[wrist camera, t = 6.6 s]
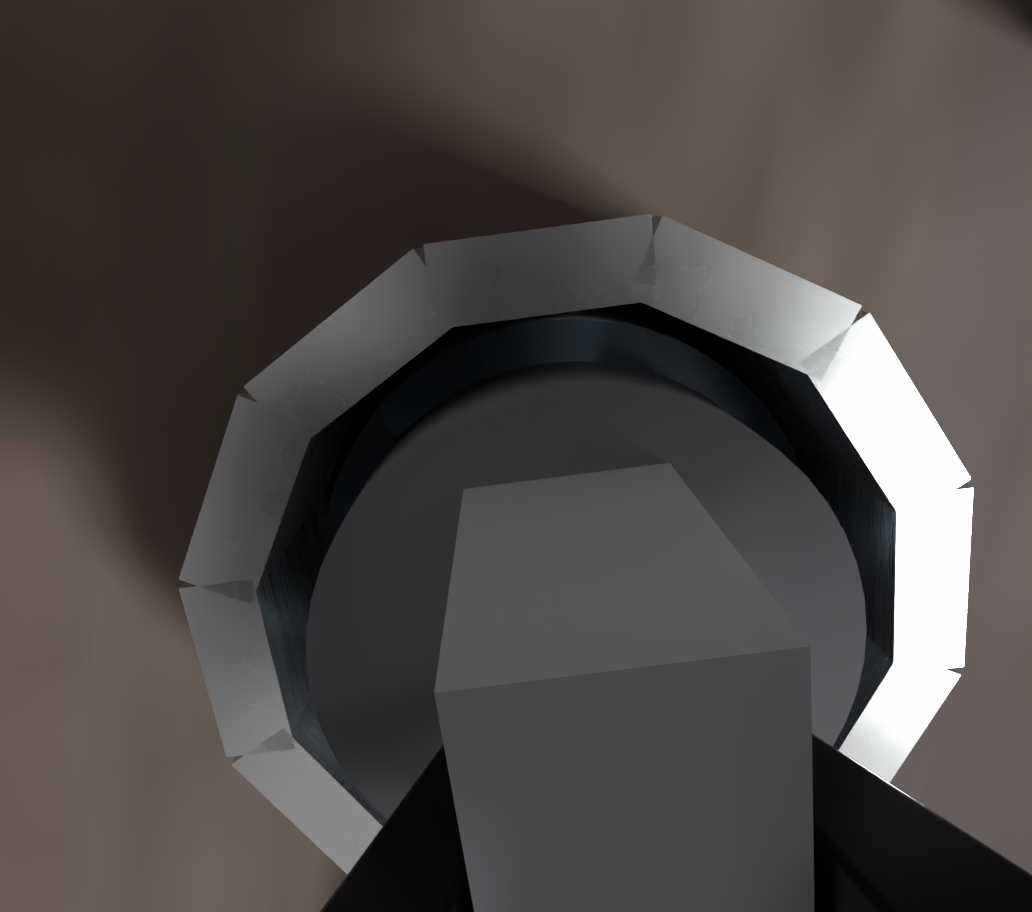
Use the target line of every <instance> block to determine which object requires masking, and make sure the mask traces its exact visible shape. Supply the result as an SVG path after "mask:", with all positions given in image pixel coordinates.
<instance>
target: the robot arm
mask: <svg viewBox="0 0 1032 912" xmlns="http://www.w3.org/2000/svg"><path fill="white" fill-rule="evenodd" d="M812 772H813V839H814V907H815V912H1032V875H1031V874H1030V873H1028V872H1027V871H1025V870H1023V869H1022V868H1020V867H1019V866H1017V865H1016V864H1014V863H1013V862H1011V861H1009V860H1008V859H1006V858H1005V857H1003V856H1002V855H1000V854H999V853H997V852H995V851H994V850H992V849H991V848H989V847H988V846H986V845H985V844H983V843H981V842H980V841H978V840H977V839H975V838H974V837H972V836H971V835H969V834H967V833H966V832H964V831H963V830H961V829H960V828H958V827H957V826H955V825H953V824H952V823H950V822H949V821H947V820H946V819H944V818H943V817H941V816H939V815H938V814H936V813H935V812H933V811H932V810H930V809H929V808H927V807H925V806H924V805H922V804H921V803H919V802H918V801H916V800H915V799H913V798H911V797H910V796H908V795H907V794H905V793H904V792H902V791H901V790H899V789H897V788H896V787H894V786H893V785H891V784H890V783H888V782H887V781H885V780H883V779H882V778H880V777H879V776H877V775H876V774H874V773H873V772H871V771H869V770H868V769H866V768H865V767H863V766H862V765H860V764H859V763H857V762H855V761H854V760H852V759H851V758H849V757H848V756H846V755H845V754H843V753H841V752H840V751H838V750H837V749H835V748H834V747H832V746H831V745H829V744H827V743H826V742H824V741H823V740H821V739H820V738H818V737H817V736H815V735H813V734H812ZM320 912H474V908H473V903H472V897H471V892H470V886H469V881H468V876H467V870H466V865H465V859H464V854H463V848H462V843H461V837H460V832H459V826H458V821H457V815H456V810H455V805H454V799H453V794H452V788H451V783H450V777H449V772H448V766H447V761H446V755H445V750H444V744H443V745H442V746H441V748H440V749H439V750H438V752H437V753H436V755H435V756H434V757H433V759H432V760H431V761H430V763H429V764H428V765H427V767H426V768H425V770H424V771H423V772H422V774H421V775H420V776H419V778H418V779H417V780H416V782H415V783H414V785H413V786H412V787H411V789H410V790H409V791H408V793H407V794H406V795H405V797H404V798H403V799H402V801H401V802H400V804H399V805H398V806H397V808H396V809H395V810H394V812H393V813H392V814H391V816H390V817H389V819H388V820H387V821H386V823H385V824H384V825H383V827H382V828H381V829H380V831H379V832H378V834H377V835H376V836H375V838H374V839H373V840H372V842H371V843H370V844H369V846H368V847H367V849H366V850H365V851H364V853H363V854H362V855H361V857H360V858H359V859H358V861H357V862H356V863H355V865H354V866H353V868H352V869H351V870H350V872H349V873H348V874H347V876H346V877H345V878H344V880H343V881H342V883H341V884H340V885H339V887H338V888H337V889H336V891H335V892H334V893H333V895H332V896H331V898H330V899H329V900H328V902H327V903H326V904H325V906H324V907H323V908H322V910H321V911H320Z"/></svg>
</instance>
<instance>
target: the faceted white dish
mask: <svg viewBox="0 0 1032 912" xmlns="http://www.w3.org/2000/svg"><path fill="white" fill-rule="evenodd" d="M423 247H424V248H415V249H412V250H410V251H409V252H408V253H407V254H405V255H404V256H403V257H402V258H401V259H399V260H398V261H397V262H396V263H394V264H393V265H392V266H391V267H390V268H388V269H387V270H386V271H385V272H383V273H382V274H381V275H380V276H378V277H377V278H376V279H375V280H374V281H372V282H371V283H370V284H369V285H367V286H366V287H365V288H364V289H362V290H361V291H360V292H359V293H358V294H356V295H355V296H354V297H353V298H351V299H350V300H349V301H348V302H347V303H345V304H344V305H343V306H342V307H340V308H339V309H338V310H337V311H335V312H334V313H333V314H332V315H331V316H329V317H328V318H327V319H326V320H324V321H323V322H322V323H321V324H319V325H318V326H317V327H316V328H315V329H313V330H312V331H311V332H310V333H308V334H307V335H306V336H305V337H304V338H302V339H301V340H300V341H299V342H297V343H296V344H295V345H294V346H292V347H291V348H290V349H289V350H288V351H286V352H285V353H284V354H283V355H281V356H280V357H279V358H278V359H276V360H275V361H274V362H273V363H272V364H270V365H269V366H268V367H267V368H265V369H264V370H263V371H262V372H261V373H259V374H258V375H257V376H256V377H254V378H253V379H252V380H251V381H249V382H248V383H247V384H246V385H245V386H243V387H244V388H245V389H246V390H245V391H244V392H242V393H240V394H238V395H237V398H236V401H235V404H234V407H233V411H232V414H231V417H230V420H229V423H228V426H227V429H226V432H225V436H224V439H223V442H222V445H221V448H220V451H219V454H218V457H217V461H216V464H215V467H214V470H213V473H212V476H211V479H210V483H209V486H208V489H207V492H206V495H205V498H204V501H203V504H202V508H201V511H200V514H199V517H198V520H197V523H196V526H195V529H194V533H193V536H192V539H191V542H190V545H189V548H188V551H187V554H186V558H185V561H184V564H183V567H182V570H181V573H180V576H179V580H182V581H185V582H184V583H183V584H182V585H181V586H180V587H179V592H180V596H181V599H182V603H183V606H184V610H185V613H186V617H187V620H188V624H189V627H190V631H191V634H192V638H193V641H194V645H195V648H196V652H197V655H198V659H199V662H200V666H201V669H202V673H203V676H204V680H205V683H206V687H207V690H208V694H209V697H210V701H211V704H212V708H213V711H214V715H215V718H216V722H217V725H218V729H219V732H220V736H221V739H222V743H223V746H224V750H225V753H226V757H233V756H235V758H234V760H233V762H232V764H231V765H232V766H233V767H234V768H235V769H236V770H237V771H238V772H240V773H241V774H242V775H243V776H244V777H245V778H246V779H247V780H248V781H249V782H250V783H251V784H252V785H253V786H254V787H255V788H256V789H258V790H259V791H260V792H261V793H262V794H263V795H264V796H265V797H266V798H267V799H268V800H269V801H270V802H271V803H272V804H273V805H274V806H275V807H277V808H278V809H279V810H280V811H281V812H282V813H283V814H284V815H285V816H286V817H287V818H288V819H289V820H290V821H291V822H292V823H293V824H294V825H296V826H297V827H298V828H299V829H300V830H301V831H302V832H303V833H304V834H305V835H306V836H307V837H308V838H309V839H310V840H311V841H312V842H314V843H315V844H316V845H317V846H318V847H319V848H320V849H321V850H322V851H323V852H324V853H325V854H326V855H327V856H328V857H329V858H330V859H331V860H333V861H334V862H335V863H336V864H337V865H338V866H339V867H340V868H341V869H342V870H343V871H344V872H345V873H346V874H348V873H349V872H350V870H351V869H352V868H353V866H354V865H355V863H356V862H357V861H358V859H359V858H360V857H361V855H362V854H363V853H364V851H365V850H366V849H367V847H368V846H369V844H370V843H371V842H372V840H373V839H374V838H375V836H376V835H377V834H378V832H379V831H380V829H381V828H382V827H383V825H384V824H385V823H386V821H387V819H386V818H385V817H384V816H383V815H382V814H380V813H379V812H378V811H377V810H376V809H375V808H374V807H373V806H372V805H371V804H370V803H369V802H368V801H367V799H366V798H365V797H364V796H363V795H362V794H361V793H360V792H359V790H358V789H357V788H356V787H355V786H354V785H353V784H352V782H351V781H350V779H349V778H348V776H347V775H346V773H345V772H344V770H343V769H342V767H341V766H340V764H339V763H338V761H337V760H336V758H335V756H334V754H333V752H332V750H331V748H330V746H329V744H328V742H327V740H326V738H325V736H324V734H323V732H322V729H321V727H320V724H319V720H318V717H317V714H316V711H315V708H314V705H313V701H312V698H311V692H310V686H309V679H308V673H307V667H306V630H307V623H308V616H309V609H310V602H311V598H312V594H313V591H314V588H315V584H316V581H317V577H318V574H319V571H320V567H321V565H322V563H323V561H324V559H325V556H326V554H327V552H328V550H329V548H330V546H331V544H332V541H333V539H334V537H335V535H336V533H337V531H338V530H339V528H340V526H341V524H342V522H343V521H344V519H345V517H346V515H347V513H348V512H349V510H350V508H351V506H352V504H353V503H354V501H355V499H356V497H357V495H358V494H359V492H360V490H361V488H362V487H363V485H364V483H365V481H366V480H367V478H368V477H369V475H370V474H371V472H372V470H373V469H374V467H375V466H376V464H377V463H378V461H379V460H380V458H381V457H382V455H383V454H384V453H385V452H386V451H387V450H388V448H389V447H390V446H391V445H392V444H393V443H394V442H395V440H396V439H397V438H398V437H399V436H400V435H401V433H403V432H404V431H405V430H406V429H407V428H408V427H409V426H410V425H412V424H413V423H414V422H415V421H416V420H417V419H418V418H420V417H421V416H422V415H423V414H424V413H425V412H427V411H428V410H430V409H431V408H433V407H434V406H436V405H437V404H439V403H440V402H442V401H443V400H445V399H446V398H448V397H449V396H451V395H452V394H454V393H456V392H458V391H460V390H462V389H464V388H466V387H468V386H471V385H473V384H475V383H477V382H479V381H481V380H483V379H486V378H489V377H492V376H495V375H498V374H501V373H504V372H507V371H510V370H513V369H518V368H523V367H528V366H533V365H538V364H543V363H554V362H569V361H588V362H603V363H614V364H619V365H624V366H629V367H634V368H639V369H644V370H647V371H650V372H653V373H655V374H658V375H661V376H664V377H667V378H670V379H673V380H675V381H677V382H679V383H681V384H683V385H685V386H687V387H689V388H691V389H693V390H695V391H697V392H699V393H701V394H703V395H704V396H706V397H707V398H708V399H710V400H711V401H713V402H714V403H716V404H717V405H718V406H720V407H721V408H723V409H724V410H726V411H727V412H728V413H730V414H731V415H733V416H734V417H735V418H737V419H738V420H739V421H741V422H742V423H743V424H745V425H746V426H747V427H749V428H750V429H751V430H753V431H754V432H755V433H757V434H758V435H759V436H761V437H762V438H763V439H765V440H766V441H767V442H769V443H770V444H771V445H773V446H774V447H775V448H777V449H778V450H779V451H780V452H782V453H783V454H784V455H785V456H786V457H787V458H788V459H789V460H790V461H791V462H792V463H793V464H794V465H795V466H797V467H798V468H799V469H800V470H801V471H802V472H803V473H804V474H805V475H806V476H807V477H808V478H809V480H810V481H811V482H812V484H813V485H814V486H815V487H816V489H817V490H818V491H819V492H820V494H821V495H822V496H823V497H824V499H825V500H826V501H827V502H828V504H829V506H830V507H831V509H832V511H833V513H834V514H835V516H836V518H837V520H838V521H839V523H840V525H841V527H842V528H843V530H844V532H845V534H846V536H847V539H848V541H849V544H850V547H851V549H852V552H853V554H854V557H855V560H856V562H857V565H858V569H859V574H860V579H861V583H862V588H863V592H864V597H865V612H866V627H867V632H866V644H865V656H864V664H863V668H862V673H861V677H860V682H859V686H858V690H857V694H856V697H855V699H854V702H853V705H852V707H851V710H850V712H849V715H848V718H847V720H846V723H845V725H844V727H843V729H842V731H841V732H840V734H839V736H838V738H837V740H836V742H835V743H834V745H833V747H834V748H835V749H837V750H838V751H840V752H841V753H843V754H845V755H846V756H848V757H849V758H851V759H852V760H854V761H855V762H857V763H859V764H860V765H862V766H863V767H865V768H866V769H868V770H869V771H871V772H873V773H874V774H876V775H877V776H879V777H880V778H882V779H883V780H885V781H887V782H888V783H890V781H891V780H892V778H893V777H894V775H895V774H896V772H897V771H898V769H899V768H900V766H901V765H902V763H903V762H904V760H905V759H906V757H907V756H908V754H909V753H910V751H911V750H912V748H913V747H914V745H915V744H916V742H917V741H918V739H919V738H920V736H921V735H922V733H923V732H924V730H925V729H926V727H927V726H928V724H929V722H930V721H931V719H932V718H933V716H934V715H935V713H936V712H937V710H938V709H939V707H940V706H941V704H942V703H943V701H944V700H945V698H946V697H947V695H948V694H949V692H950V691H951V689H952V688H953V686H954V685H955V683H956V682H957V680H958V679H959V677H960V676H961V675H960V674H959V673H958V672H957V671H956V670H955V669H954V668H958V667H964V655H965V636H966V617H967V598H968V579H969V560H970V541H971V522H972V503H973V487H971V486H969V485H967V484H965V482H967V481H969V480H970V479H971V478H970V476H969V475H968V473H967V471H966V470H965V468H964V466H963V465H962V463H961V461H960V460H959V458H958V457H957V455H956V453H955V452H954V450H953V448H952V447H951V445H950V443H949V442H948V440H947V439H946V437H945V435H944V434H943V432H942V430H941V429H940V427H939V425H938V424H937V422H936V420H935V419H934V417H933V416H932V414H931V412H930V411H929V409H928V407H927V406H926V404H925V402H924V401H923V399H922V398H921V396H920V394H919V393H918V391H917V389H916V388H915V386H914V384H913V383H912V381H911V379H910V378H909V376H908V375H907V373H906V371H905V370H904V368H903V366H902V365H901V363H900V361H899V360H898V358H897V357H896V355H895V353H894V352H893V350H892V348H891V347H890V345H889V343H888V342H887V340H886V338H885V337H884V335H883V334H882V332H881V330H880V329H879V327H878V325H877V324H876V322H875V320H874V319H873V317H872V316H871V314H870V312H865V311H860V308H861V306H862V305H859V304H857V303H855V302H853V301H851V300H848V299H846V298H844V297H842V296H840V295H837V294H835V293H833V292H831V291H829V290H826V289H824V288H822V287H820V286H818V285H815V284H813V283H811V282H809V281H807V280H804V279H802V278H800V277H798V276H796V275H793V274H791V273H789V272H787V271H785V270H782V269H780V268H778V267H776V266H774V265H771V264H769V263H767V262H765V261H762V260H760V259H758V258H756V257H754V256H751V255H749V254H747V253H745V252H743V251H740V250H738V249H736V248H734V247H732V246H729V245H727V244H725V243H723V242H721V241H718V240H716V239H714V238H712V237H710V236H707V235H705V234H703V233H701V232H699V231H696V230H694V229H692V228H690V227H688V226H685V225H683V224H681V223H679V222H677V221H674V220H672V219H670V218H668V217H666V216H663V215H662V216H655V217H652V214H646V215H638V216H631V217H623V218H616V219H608V220H601V221H593V222H586V223H578V224H571V225H563V226H556V227H548V228H541V229H533V230H526V231H518V232H511V233H503V234H496V235H488V236H481V237H473V238H466V239H458V240H451V241H443V242H436V243H428V244H423ZM640 302H642V303H644V304H647V305H649V306H651V307H653V308H656V309H658V310H660V311H663V312H665V313H667V314H670V315H672V316H674V317H676V318H679V319H681V320H683V321H686V322H688V323H690V324H693V325H695V326H697V327H699V328H702V329H704V330H706V331H709V332H711V333H713V334H716V335H717V336H718V337H719V339H720V340H721V342H722V343H723V345H724V346H725V348H726V349H727V351H728V352H729V354H730V355H731V357H732V358H733V360H734V361H735V362H736V364H737V365H738V367H739V368H740V370H741V371H742V373H743V374H744V376H745V377H746V379H747V380H748V382H749V383H750V385H751V386H752V388H753V389H754V391H755V392H756V393H757V395H758V396H759V398H760V399H761V401H762V402H763V403H762V402H761V401H760V399H759V398H758V397H757V396H756V395H755V394H754V393H753V392H752V391H751V390H750V389H749V388H748V387H747V386H745V385H744V384H743V383H742V382H741V381H740V380H739V379H738V378H737V377H736V376H735V375H734V374H732V373H731V372H730V371H728V370H727V369H725V368H724V367H722V366H721V365H720V364H718V363H717V362H715V361H714V360H713V359H711V358H710V357H708V356H707V355H705V354H703V353H701V352H700V351H698V350H696V349H694V348H692V347H691V346H689V345H687V344H685V343H684V342H682V341H680V340H678V339H676V338H674V337H672V336H670V335H669V334H667V333H665V332H663V331H661V330H659V329H657V328H655V327H653V326H651V325H648V324H645V323H643V322H640V321H637V320H634V319H631V318H628V317H626V316H622V315H617V314H612V313H608V312H603V311H598V310H590V309H594V308H602V307H610V306H617V305H625V304H632V303H640ZM480 323H482V324H480ZM473 324H479V325H477V326H475V327H473V328H471V329H469V330H467V331H465V332H463V333H461V334H459V335H457V336H455V337H453V338H451V339H449V340H448V341H446V342H445V343H443V344H442V345H440V346H439V347H437V348H436V349H434V350H433V351H431V352H430V353H428V354H427V355H426V356H425V357H423V358H422V359H421V360H420V361H419V362H418V363H417V364H416V365H415V366H413V367H412V368H411V369H410V370H409V371H408V372H407V373H406V374H405V375H404V376H403V377H402V378H401V379H400V380H399V382H398V383H397V384H396V385H395V386H394V388H393V389H392V390H391V391H390V392H389V393H388V395H387V396H386V397H385V399H384V400H383V401H382V403H381V404H380V405H379V407H378V408H377V409H376V411H375V412H374V414H373V415H372V416H371V418H370V419H369V420H368V422H367V423H366V425H365V426H364V428H363V430H362V431H361V433H360V434H359V436H358V437H357V439H356V441H355V442H354V444H353V445H352V447H351V449H350V450H349V452H348V455H347V457H346V459H345V461H344V464H343V466H342V468H341V470H340V472H339V475H338V477H337V479H336V483H335V486H334V490H333V493H332V496H331V500H330V503H329V507H328V509H327V504H326V500H325V495H324V493H325V490H326V487H327V485H328V482H329V479H330V476H331V474H332V471H333V468H334V466H335V463H336V460H337V457H338V455H339V452H340V449H341V446H342V444H343V441H344V438H345V435H346V433H347V430H348V427H349V425H350V422H351V419H352V416H353V414H354V411H355V408H356V405H357V403H358V401H359V400H360V399H362V398H363V397H364V396H365V395H367V394H368V393H369V392H371V391H372V390H373V389H374V388H376V387H377V386H378V385H379V384H381V383H382V382H383V381H385V380H386V379H387V378H388V377H390V376H391V375H392V374H393V373H395V372H396V371H397V370H399V369H400V368H401V367H402V366H404V365H405V364H406V363H408V362H409V361H410V360H411V359H413V358H414V357H415V356H416V355H418V354H419V353H420V352H422V351H423V350H424V349H425V348H427V347H428V346H429V345H430V344H432V343H433V342H434V341H436V340H437V339H438V338H439V337H441V336H442V335H443V334H445V333H446V332H447V331H448V330H450V329H451V328H452V327H458V326H465V325H473ZM764 405H765V406H764Z"/></svg>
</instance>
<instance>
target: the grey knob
mask: <svg viewBox="0 0 1032 912" xmlns="http://www.w3.org/2000/svg"><path fill="white" fill-rule="evenodd" d="M866 632H867V627H866V612H865V597H864V592H863V588H862V583H861V579H860V574H859V569H858V565H857V562H856V560H855V557H854V554H853V552H852V549H851V547H850V544H849V541H848V539H847V536H846V534H845V532H844V530H843V528H842V527H841V525H840V523H839V521H838V520H837V518H836V516H835V514H834V513H833V511H832V509H831V507H830V506H829V504H828V502H827V501H826V500H825V499H824V497H823V496H822V495H821V494H820V492H819V491H818V490H817V489H816V487H815V486H814V485H813V484H812V482H811V481H810V480H809V478H808V477H807V476H806V475H805V474H804V473H803V472H802V471H801V470H800V469H799V468H798V467H797V466H795V465H794V464H793V463H792V462H791V461H790V460H789V459H788V458H787V457H786V456H785V455H784V454H783V453H782V452H780V451H779V450H778V449H777V448H775V447H774V446H773V445H771V444H770V443H769V442H767V441H766V440H765V439H763V438H762V437H761V436H759V435H758V434H757V433H755V432H754V431H753V430H751V429H750V428H749V427H747V426H746V425H745V424H743V423H742V422H741V421H739V420H738V419H737V418H735V417H734V416H733V415H731V414H730V413H728V412H727V411H726V410H724V409H723V408H721V407H720V406H718V405H717V404H716V403H714V402H713V401H711V400H710V399H708V398H707V397H706V396H704V395H703V394H701V393H699V392H697V391H695V390H693V389H691V388H689V387H687V386H685V385H683V384H681V383H679V382H677V381H675V380H673V379H670V378H667V377H664V376H661V375H658V374H655V373H653V372H650V371H647V370H644V369H639V368H634V367H629V366H624V365H619V364H614V363H603V362H588V361H569V362H554V363H543V364H538V365H533V366H528V367H523V368H518V369H513V370H510V371H507V372H504V373H501V374H498V375H495V376H492V377H489V378H486V379H483V380H481V381H479V382H477V383H475V384H473V385H471V386H468V387H466V388H464V389H462V390H460V391H458V392H456V393H454V394H452V395H451V396H449V397H448V398H446V399H445V400H443V401H442V402H440V403H439V404H437V405H436V406H434V407H433V408H431V409H430V410H428V411H427V412H425V413H424V414H423V415H422V416H421V417H420V418H418V419H417V420H416V421H415V422H414V423H413V424H412V425H410V426H409V427H408V428H407V429H406V430H405V431H404V432H403V433H401V435H400V436H399V437H398V438H397V439H396V440H395V442H394V443H393V444H392V445H391V446H390V447H389V448H388V450H387V451H386V452H385V453H384V454H383V455H382V457H381V458H380V460H379V461H378V463H377V464H376V466H375V467H374V469H373V470H372V472H371V474H370V475H369V477H368V478H367V480H366V481H365V483H364V485H363V487H362V488H361V490H360V492H359V494H358V495H357V497H356V499H355V501H354V503H353V504H352V506H351V508H350V510H349V512H348V513H347V515H346V517H345V519H344V521H343V522H342V524H341V526H340V528H339V530H338V531H337V533H336V535H335V537H334V539H333V541H332V544H331V546H330V548H329V550H328V552H327V554H326V556H325V559H324V561H323V563H322V565H321V567H320V571H319V574H318V577H317V581H316V584H315V588H314V591H313V594H312V598H311V602H310V609H309V616H308V623H307V630H306V667H307V673H308V679H309V686H310V692H311V698H312V701H313V705H314V708H315V711H316V714H317V717H318V720H319V724H320V727H321V729H322V732H323V734H324V736H325V738H326V740H327V742H328V744H329V746H330V748H331V750H332V752H333V754H334V756H335V758H336V760H337V761H338V763H339V764H340V766H341V767H342V769H343V770H344V772H345V773H346V775H347V776H348V778H349V779H350V781H351V782H352V784H353V785H354V786H355V787H356V788H357V789H358V790H359V792H360V793H361V794H362V795H363V796H364V797H365V798H366V799H367V801H368V802H369V803H370V804H371V805H372V806H373V807H374V808H375V809H376V810H377V811H378V812H379V813H380V814H382V815H383V816H384V817H385V818H386V819H387V820H388V819H389V817H390V816H391V814H392V813H393V812H394V810H395V809H396V808H397V806H398V805H399V804H400V802H401V801H402V799H403V798H404V797H405V795H406V794H407V793H408V791H409V790H410V789H411V787H412V786H413V785H414V783H415V782H416V780H417V779H418V778H419V776H420V775H421V774H422V772H423V771H424V770H425V768H426V767H427V765H428V764H429V763H430V761H431V760H432V759H433V757H434V756H435V755H436V753H437V752H438V750H439V749H440V748H441V746H442V745H443V744H444V750H445V755H446V761H447V766H448V772H449V777H450V783H451V788H452V794H453V799H454V805H455V810H456V815H457V821H458V826H459V832H460V837H461V843H462V848H463V854H464V859H465V865H466V870H467V876H468V881H469V886H470V892H471V897H472V903H473V908H474V912H815V907H814V839H813V772H812V734H813V735H815V736H817V737H818V738H820V739H821V740H823V741H824V742H826V743H827V744H829V745H831V746H832V747H833V745H834V743H835V742H836V740H837V738H838V736H839V734H840V732H841V731H842V729H843V727H844V725H845V723H846V720H847V718H848V715H849V712H850V710H851V707H852V705H853V702H854V699H855V697H856V694H857V690H858V686H859V682H860V677H861V673H862V668H863V664H864V656H865V644H866Z"/></svg>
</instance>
